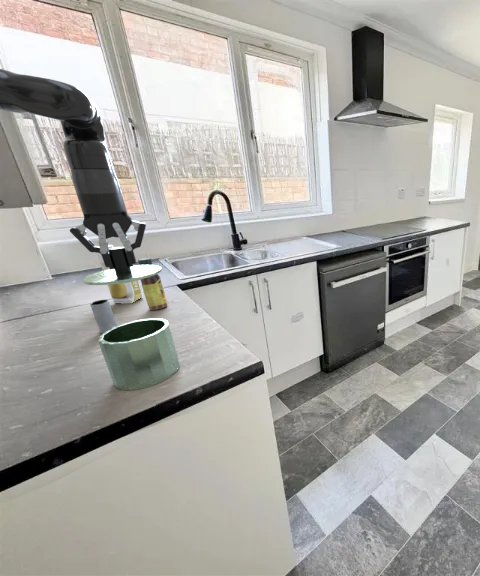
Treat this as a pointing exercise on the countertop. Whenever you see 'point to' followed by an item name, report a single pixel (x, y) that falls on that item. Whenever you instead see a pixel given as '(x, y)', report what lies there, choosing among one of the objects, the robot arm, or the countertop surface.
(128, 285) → the juice carton
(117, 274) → the tin lid
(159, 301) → the sauce bottle
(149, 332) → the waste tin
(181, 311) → the countertop surface
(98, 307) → the grey tube
